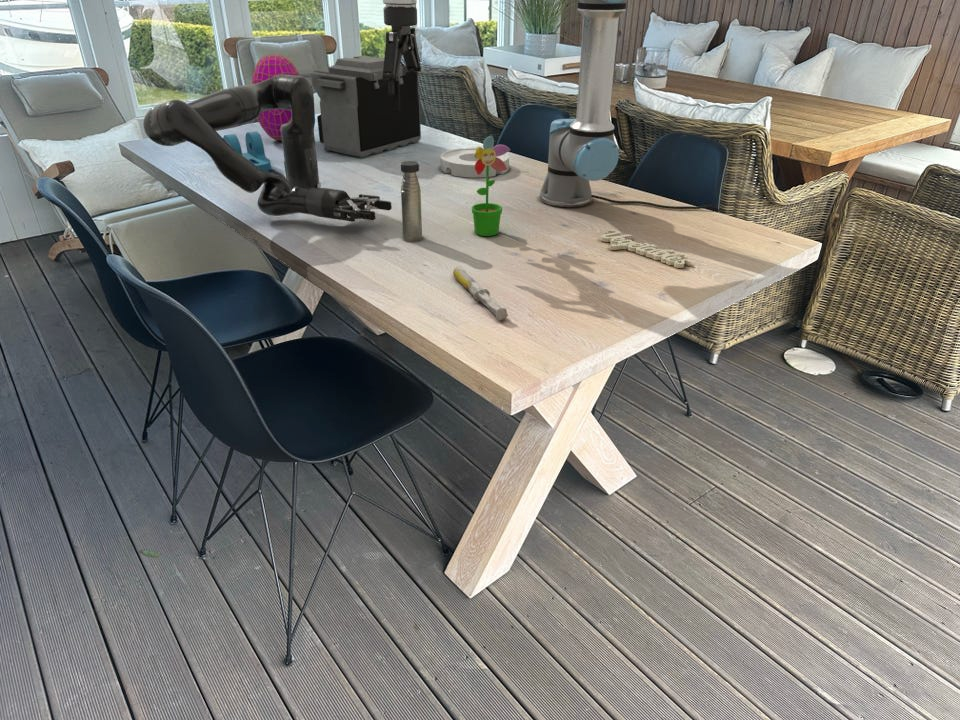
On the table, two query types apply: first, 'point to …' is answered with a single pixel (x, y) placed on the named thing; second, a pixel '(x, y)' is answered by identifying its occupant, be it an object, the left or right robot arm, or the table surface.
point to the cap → (409, 166)
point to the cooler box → (363, 108)
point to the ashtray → (467, 163)
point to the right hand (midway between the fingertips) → (403, 105)
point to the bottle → (411, 207)
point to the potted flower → (487, 212)
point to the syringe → (479, 293)
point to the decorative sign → (644, 249)
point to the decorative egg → (262, 72)
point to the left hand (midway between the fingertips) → (383, 211)
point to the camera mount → (251, 149)
